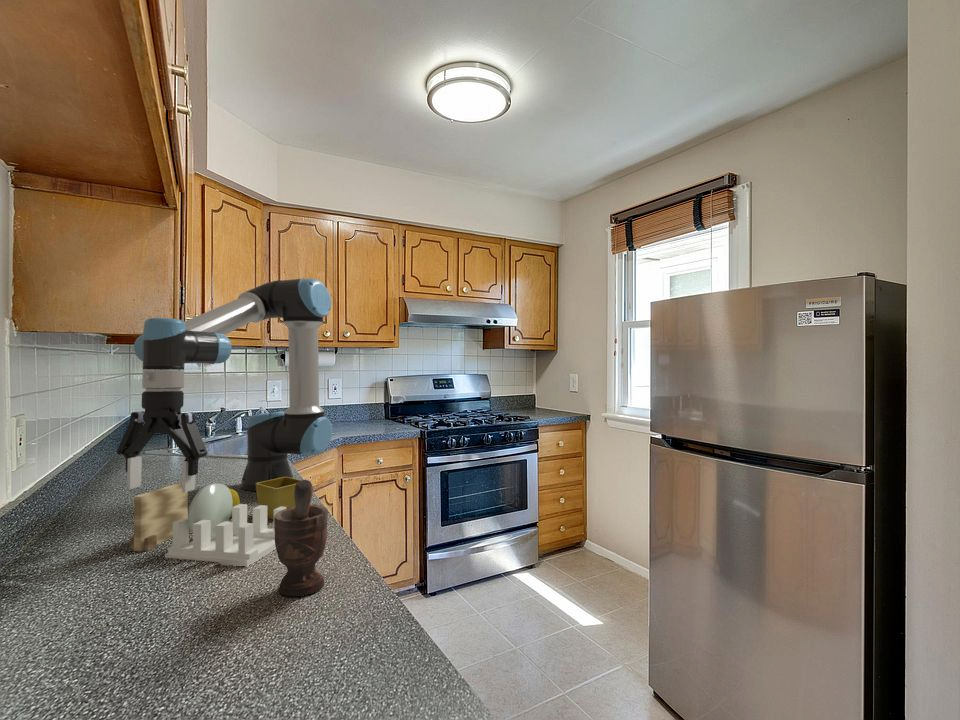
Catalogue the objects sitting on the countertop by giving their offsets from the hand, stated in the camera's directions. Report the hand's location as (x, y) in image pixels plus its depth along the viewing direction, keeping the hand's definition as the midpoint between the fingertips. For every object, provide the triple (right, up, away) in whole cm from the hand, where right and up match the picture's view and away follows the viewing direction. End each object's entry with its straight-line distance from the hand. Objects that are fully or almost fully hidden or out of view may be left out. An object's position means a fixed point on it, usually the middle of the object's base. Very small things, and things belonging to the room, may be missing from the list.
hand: (161, 489), depth 101 cm
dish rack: (+17, -12, -3) cm, 21 cm away
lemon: (+6, -12, +15) cm, 20 cm away
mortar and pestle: (+39, -12, -21) cm, 46 cm away
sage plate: (+12, -9, -2) cm, 15 cm away
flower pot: (+19, -12, +17) cm, 28 cm away
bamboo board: (0, -11, 0) cm, 11 cm away
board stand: (0, -12, 0) cm, 12 cm away
